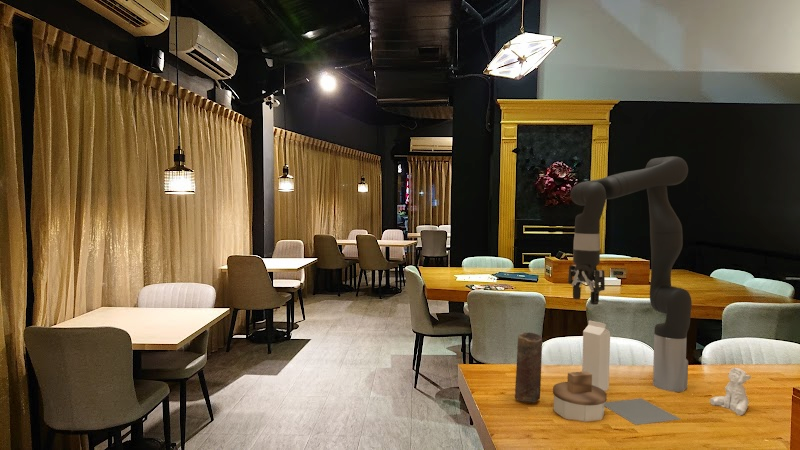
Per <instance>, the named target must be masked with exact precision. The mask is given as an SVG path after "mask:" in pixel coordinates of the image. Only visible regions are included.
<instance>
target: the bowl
mask: <svg viewBox="0 0 800 450" xmlns="http://www.w3.org/2000/svg"><path fill="white" fill-rule="evenodd" d="M604 403H605V402H604ZM604 403H602V404H599V405H579V404H573V403H569V402H566V401H563V400H561V399H559V398H557V397H556V396H555V395H554V394H553V411H554V412H555V413H556V414H557V415H559V416H560V417H562V418H563V419H566V420H570V421H573V420H575V421H579V422H593V421H594V422H595V421H601V420H603V417H604V414H605V406H604Z"/></svg>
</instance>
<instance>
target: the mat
mask: <svg viewBox="0 0 800 450" xmlns="http://www.w3.org/2000/svg"><path fill="white" fill-rule="evenodd" d="M604 408H607V409H609V410H610V411H612V412H614V413H615V414H616V415H618V416H620V417H622V418H623V419H625V420H627V421H628V422H629V423H632V424H633V425H635V426H639V425H648V424H656V423H665V422H670V421H679V420H681V418H680V417H678V416H676V415H674V414H672V413H671V412H668V411H666V410H665V409H663V408H661V407H659V406H657V405H656V404H654V403H651V402H650V401H647V400H645V399H643V398H641V397H640V398H639V397H638V398H631V399H623V400H612V401H606V402H605V403H604Z"/></svg>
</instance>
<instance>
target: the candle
mask: <svg viewBox="0 0 800 450" xmlns="http://www.w3.org/2000/svg"><path fill="white" fill-rule="evenodd" d="M516 348H517V352H516V369H515V371H516V373H515V389H514V398H515V399H516V401H518V402H523V403H527V404H534V403H536V402H538V401H539V400H540V399H541V385H542V384H541V382H542V359H543V358H542V357H543V354H542V353H543V337H542V336H541V335H540V334H538V333H533V332H531V331H530V332H521V333H519V334H518V335H517V347H516Z"/></svg>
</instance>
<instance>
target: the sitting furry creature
mask: <svg viewBox="0 0 800 450" xmlns="http://www.w3.org/2000/svg"><path fill="white" fill-rule="evenodd" d="M751 377H752V375H751V374H750V375H749V374H748V375H747V372H746V371H745V370H743V369H741V368H739V367H731V369H730V371H729V372H728V380H729V382H727V385H725V387H724V390H725V395H723V396H722V395H721V396H719V395H718V396H713V397H711V398H709V403H710V404H711V405H712V406H717V407H722V408H725V409H727V410H728V409H729V411H731V412H735V414H736V416H745V413H746V412H747V409H748V407H749V404H750V402H749V398H748V395H747V392H746V387H745V386H744V384H745V383H746V382H747V381H749V380H750V379H751Z"/></svg>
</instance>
